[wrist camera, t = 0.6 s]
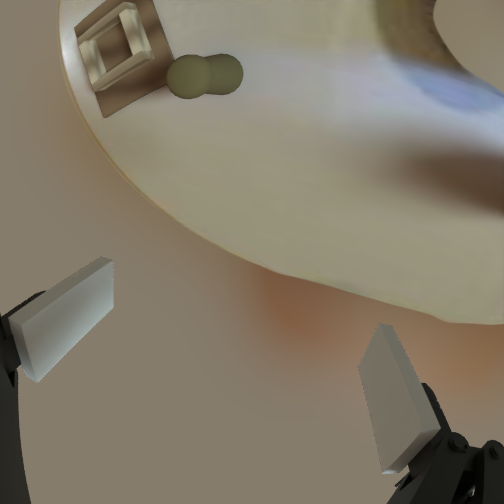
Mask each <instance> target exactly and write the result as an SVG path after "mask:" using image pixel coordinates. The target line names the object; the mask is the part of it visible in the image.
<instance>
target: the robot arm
mask: <svg viewBox="0 0 504 504" xmlns="http://www.w3.org/2000/svg"><path fill="white" fill-rule="evenodd" d="M113 262H114V261H113V260H112V259H109V258H106V257H102V256H101V257H99V258H98V259H96V260H94V261H93V262H91V263H89V264H88V265H86V266H85V267H83V268H81V269H80V270H78V271H77V272H75V273H73V274H72V275H70V276H69V277H67V278H66V279H64V280H63V281H61V282H59V283H58V284H57V285H55V286H53V287H52V288H51V289H49V290H47V291H42V292H39V293H37V294H34V295H33V296H31V297H30V298H28V300H25V301H24V302H23V303H21V304H19V305H18V306H16V307H15V308H13V309H12V310H11V311H9V312H8V313H6V314H5V315H3V316H2V317H1V314H0V504H31V501H30V497H29V492H28V487H27V483H26V477H25V471H24V464H23V457H22V450H21V440H20V429H19V412H18V372H17V369H16V368H17V367H18V366H19V365H22V368H23V371H24V374H25V375H26V376H28V377H29V378H31V379H33V380H34V381H35V382H37V383H38V382H39V381H40V380H41V379H42V378H43V377H44V376H45V375H46V374H47V373H48V372H49V370H51V369H52V368H53V366H54V365H55V364H56V363H57V362H58V361H59V360H60V359H61V358H62V357H63V356H64V355H65V354H66V353H67V352H68V351H69V350H70V349H71V348H72V347H73V346H74V345H75V344H76V343H77V342H78V341H79V340H80V339H81V338H82V337H83V336H84V335H85V334H86V333H87V332H88V331H89V330H90V329H91V328H92V327H94V326H95V324H97V323H98V322H99V321H100V320H101V319H102V318H103V317H104V316H105V315H106V314H107V313H108V312H109V311H110V310H111V309H112V308H113V307H114V304H113ZM358 370H359V374H360V377H361V381H362V385H363V389H364V393H365V397H366V401H367V405H368V409H369V413H370V418H371V422H372V427H373V431H374V436H375V440H376V445H377V450H378V454H379V460H380V465H381V470H382V474H388V473H399V472H400V471H401V470H402V469H404V467H406V465H408V467H409V470H410V472H409V473H408V474H407V475H406V476H404V477H403V478H402V479H401V480H400V481H399V482H398V483H397V484H396V485H395V486H396V487H397V486H398V485H399V484H400V485H399V486H398V488H397V489H396V491H395V493H394V494H393V496H392V497H391V498H390V500H389V501H388V503H387V504H504V446H503V445H502V444H501V443H500V442H497V441H495V440H490V441H487V443H486V444H485V445H484V446H483V447H482V448H476V447H471V446H469V444H468V441H467V440H466V439H465V437H463V436H462V435H461V434H459V433H456V432H451V429H450V427H449V425H448V422H447V420H446V418H445V416H444V413H443V411H442V409H440V405H439V403H438V402H437V398H436V396H435V394H434V392H433V391H432V390H431V389H430V387H428V385H427V384H426V383H421V382H420V380H419V378H418V376H417V374H416V372H415V370H414V368H413V365H412V364H411V362H410V360H409V357H408V355H407V353H406V351H405V349H404V348H403V345H402V344H401V342H400V340H399V338H398V336H397V334H396V332H395V330H394V328H393V326H392V325H386V324H381V323H379V324H378V326H377V328H376V330H375V332H374V334H373V337H372V339H371V341H370V343H369V345H368V347H367V350H366V352H365V354H364V356H363V358H362V360H361V362H360V364H359V366H358ZM474 489H475V492H474V495H473V496H472V493H473V490H474Z"/></svg>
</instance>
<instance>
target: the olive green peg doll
mask: <svg viewBox="0 0 504 504" xmlns="http://www.w3.org/2000/svg"><path fill="white" fill-rule="evenodd" d="M242 79H243V69H242V66H241V64H240V62H239V61H238V60H237V59H236V58H235V57H233V56H230V55H228V54H218V55H214V56H209V57H204V58H203V57H201V56H198V55H184V56H181V57H179V58H177V59H176V60H174V61H173V62H172V64H171V65H170V66H169V68H168V71H167V74H166V81H167V86H168V87H169V89H170V91H171V92H172V93H173V94H174V95H175V96H177V97H180V98H183V99H193V98H197V97H199V96H201V95H203V94H204V93H206V94H217V95H225V94H230V93H231V92H233V91H235V90H236V89H237V88H238V87H239V86H240V84H241V82H242Z"/></svg>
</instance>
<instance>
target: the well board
mask: <svg viewBox="0 0 504 504" xmlns="http://www.w3.org/2000/svg"><path fill="white" fill-rule="evenodd" d="M74 28H75V32H76V35H77V40H78V44H79V47H80V50H81V54H82V57H83V60H84V63H85V66H86V69H87V72H88V75H89V78H90V81H91V84H92V87H93V90H94V92H95V94H96V97H97V100H98V102H99V105H100V108H101V110H102V113H103V116H104V118H106V117H109V116H110V115H112V114H113V113H115V112H117V111H118V110H120V109H122V108H123V107H125V106H127V105H129V104H130V103H132V102H134V101H136V100H137V99H139V98H141V97H143V96H145V95H147V94H148V93H150V92H152V91H154V90H156V89H158V88H160V87H162V86H164V85H166V84H167V81H166V74H167V71H168V68H169V66H170V65H171V64H172V62H173V61H174V58H173V55H172V52H171V50H170V47H169V44H168V42H167V39H166V36H165V33H164V31H163V28H162V25H161V22H160V20H159V17H158V14H157V11H156V9H155V6H154V3H153V0H106V1H105V2H104V3H102V4H101V5H100V6H99V7H97V8H96V9H95V10H94V11H93V12H91V13H90V14H89V15H88V16H87V17H86V18H84V19H83V20H82V21H81V22H80V23H79V24H78V25H77V26H76V27H74Z"/></svg>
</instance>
